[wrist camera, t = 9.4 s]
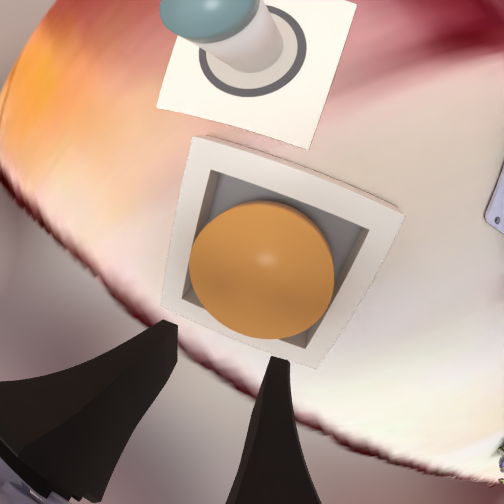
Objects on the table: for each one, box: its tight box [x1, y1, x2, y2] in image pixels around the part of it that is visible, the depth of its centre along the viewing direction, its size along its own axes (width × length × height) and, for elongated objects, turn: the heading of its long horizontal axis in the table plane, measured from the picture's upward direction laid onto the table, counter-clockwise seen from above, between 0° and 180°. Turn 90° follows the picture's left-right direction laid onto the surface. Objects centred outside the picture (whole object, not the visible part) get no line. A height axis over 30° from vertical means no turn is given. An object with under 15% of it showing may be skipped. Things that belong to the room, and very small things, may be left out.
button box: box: [161, 135, 405, 369], centre depth 17 cm, size 12×12×2 cm
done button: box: [189, 200, 334, 339], centre depth 16 cm, size 8×8×2 cm
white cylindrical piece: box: [160, 0, 283, 73], centre depth 10 cm, size 4×4×7 cm
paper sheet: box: [156, 0, 357, 150], centre depth 13 cm, size 10×10×1 cm
